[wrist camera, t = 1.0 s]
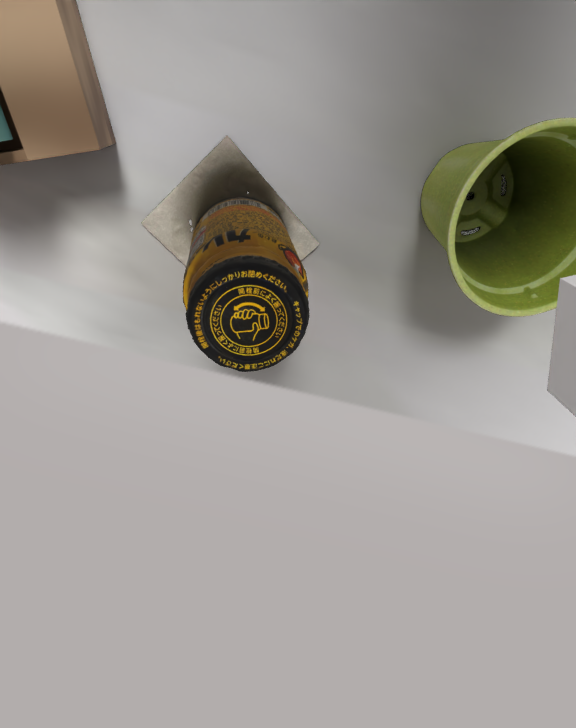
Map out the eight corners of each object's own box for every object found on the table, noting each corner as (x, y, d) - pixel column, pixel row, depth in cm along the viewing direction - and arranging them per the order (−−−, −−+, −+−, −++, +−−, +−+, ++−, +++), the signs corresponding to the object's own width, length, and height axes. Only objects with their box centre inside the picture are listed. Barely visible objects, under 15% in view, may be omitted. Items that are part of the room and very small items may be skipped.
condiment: (237, 315, 33) (244, 415, 22) (141, 222, 29) (95, 291, 19) (319, 243, 31) (367, 316, 21) (227, 134, 27) (229, 157, 17)
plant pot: (406, 284, 33) (460, 339, 26) (381, 141, 28) (437, 157, 21) (537, 242, 33) (631, 285, 25) (533, 90, 28) (647, 88, 21)
